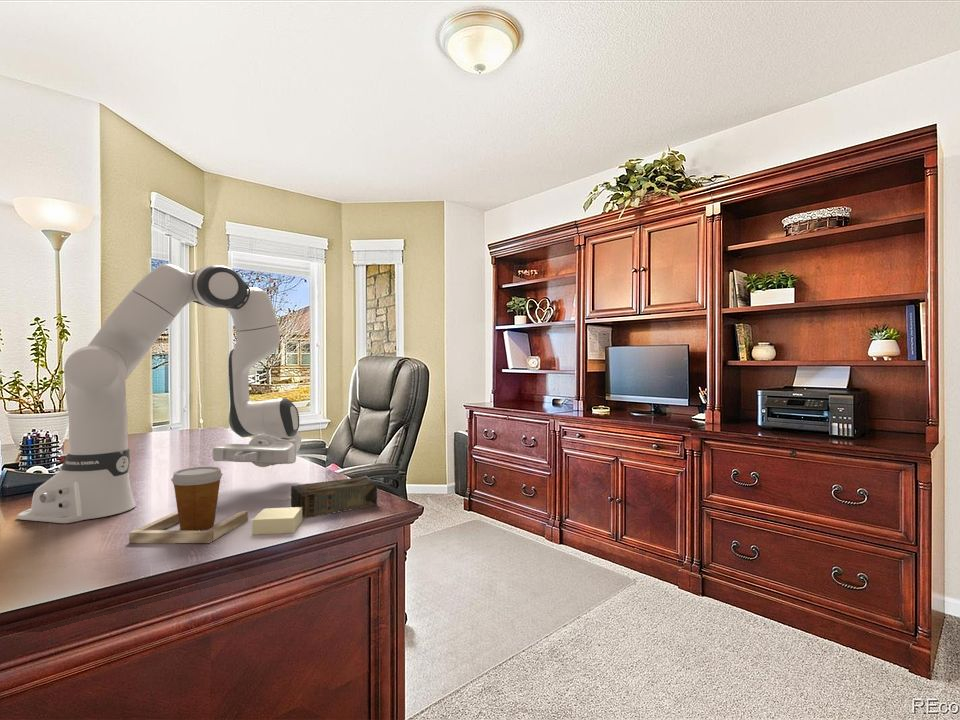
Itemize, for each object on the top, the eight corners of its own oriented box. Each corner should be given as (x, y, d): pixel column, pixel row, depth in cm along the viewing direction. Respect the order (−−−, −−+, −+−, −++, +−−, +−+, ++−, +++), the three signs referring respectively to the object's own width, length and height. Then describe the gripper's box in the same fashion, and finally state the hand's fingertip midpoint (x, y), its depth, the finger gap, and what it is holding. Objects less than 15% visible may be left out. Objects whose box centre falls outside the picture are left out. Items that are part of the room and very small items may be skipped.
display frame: (129, 542, 97) (129, 532, 97) (178, 519, 111) (177, 510, 111) (209, 543, 96) (209, 533, 96) (247, 520, 111) (247, 511, 111)
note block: (252, 534, 101) (252, 519, 101) (264, 522, 109) (264, 508, 109) (293, 532, 102) (293, 518, 102) (302, 520, 110) (302, 506, 110)
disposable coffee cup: (191, 519, 111) (191, 465, 111) (231, 520, 110) (231, 466, 110) (160, 534, 102) (160, 475, 102) (203, 535, 101) (204, 476, 101)
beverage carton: (379, 506, 122) (378, 479, 122) (297, 521, 111) (297, 491, 111) (366, 499, 128) (366, 473, 128) (288, 512, 117) (288, 484, 117)
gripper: (229, 437, 137) (198, 444, 123) (302, 439, 136) (279, 447, 122) (228, 460, 137) (197, 470, 123) (301, 462, 136) (278, 473, 122)
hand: (238, 458), depth 123 cm, fingers closed
